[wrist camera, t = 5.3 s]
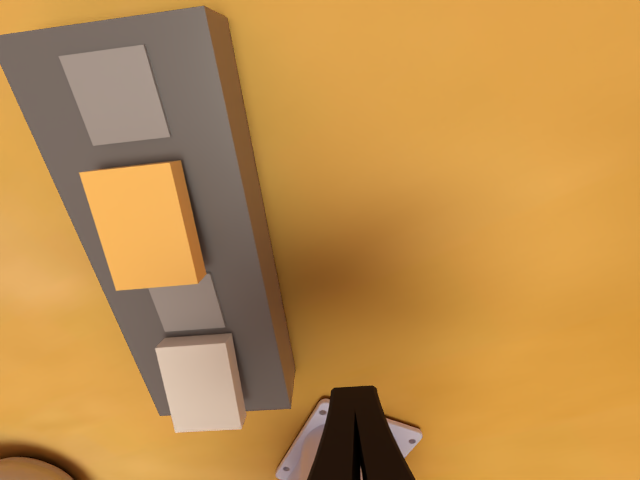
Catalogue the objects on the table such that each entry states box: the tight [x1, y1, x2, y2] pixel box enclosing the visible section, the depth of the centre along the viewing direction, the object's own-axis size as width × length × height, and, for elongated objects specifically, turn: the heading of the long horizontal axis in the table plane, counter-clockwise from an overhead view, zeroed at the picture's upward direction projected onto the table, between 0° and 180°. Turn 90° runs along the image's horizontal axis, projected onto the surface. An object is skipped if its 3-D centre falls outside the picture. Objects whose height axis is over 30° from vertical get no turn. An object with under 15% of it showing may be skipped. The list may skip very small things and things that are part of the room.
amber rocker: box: [79, 160, 206, 291], centre depth 15 cm, size 5×4×1 cm
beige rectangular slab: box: [155, 333, 246, 433], centre depth 18 cm, size 5×4×1 cm
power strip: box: [0, 6, 295, 416], centre depth 18 cm, size 20×8×3 cm, turn 6°
